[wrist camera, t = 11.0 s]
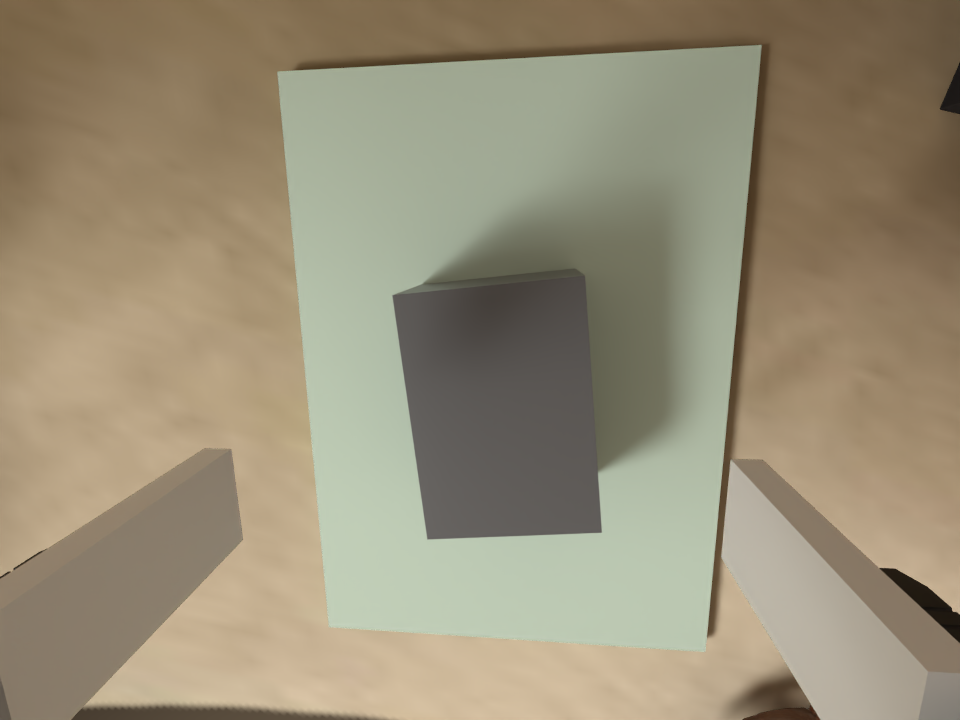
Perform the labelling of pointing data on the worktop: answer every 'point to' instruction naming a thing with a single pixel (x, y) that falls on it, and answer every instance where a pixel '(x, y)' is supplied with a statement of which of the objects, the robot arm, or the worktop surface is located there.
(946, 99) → the product box
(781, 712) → the brown jagged ring
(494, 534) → the dark gray card box
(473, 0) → the worktop surface
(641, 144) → the rubber mat
